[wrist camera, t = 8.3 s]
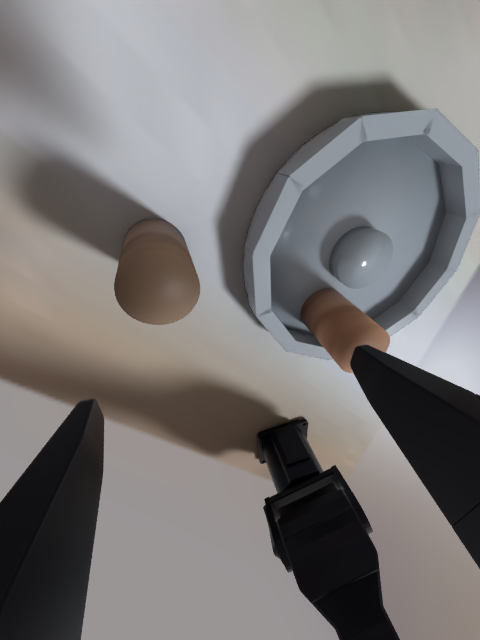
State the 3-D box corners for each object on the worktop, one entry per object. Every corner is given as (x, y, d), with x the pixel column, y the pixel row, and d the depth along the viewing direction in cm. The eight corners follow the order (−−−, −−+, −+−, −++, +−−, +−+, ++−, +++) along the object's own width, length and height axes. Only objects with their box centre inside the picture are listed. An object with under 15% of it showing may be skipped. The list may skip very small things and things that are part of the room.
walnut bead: (191, 271, 20) (205, 315, 15) (134, 282, 19) (129, 332, 14) (179, 214, 17) (192, 243, 13) (114, 224, 17) (100, 259, 12)
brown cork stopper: (325, 331, 26) (366, 375, 21) (292, 322, 24) (328, 368, 19) (350, 295, 24) (400, 334, 19) (316, 282, 22) (362, 322, 18)
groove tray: (414, 319, 29) (432, 332, 27) (250, 361, 26) (258, 379, 24) (489, 100, 19) (528, 96, 17) (230, 127, 16) (242, 126, 14)
